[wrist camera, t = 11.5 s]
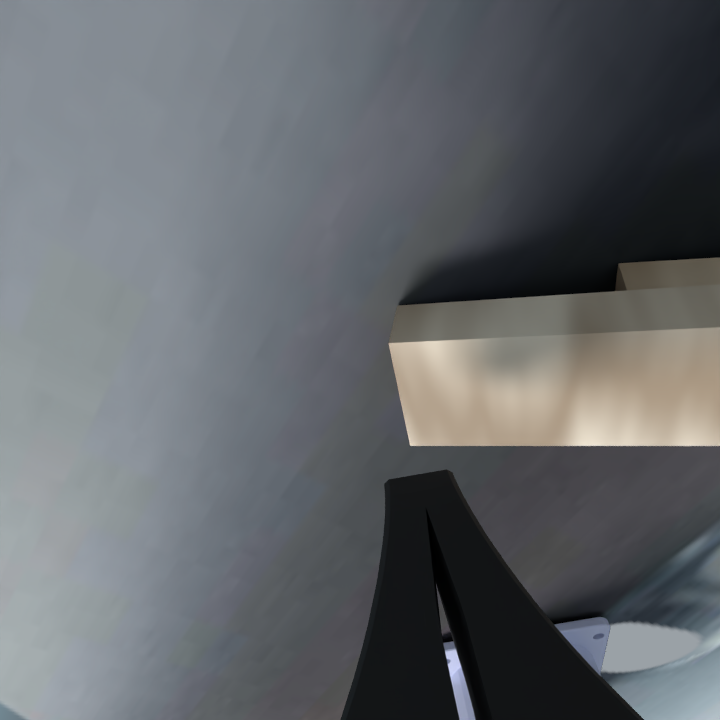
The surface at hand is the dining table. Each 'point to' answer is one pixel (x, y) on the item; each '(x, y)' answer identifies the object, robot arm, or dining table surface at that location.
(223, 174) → the dining table surface
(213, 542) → the dining table surface
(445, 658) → the robot arm
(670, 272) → the beige wooden block
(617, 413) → the wooden block
